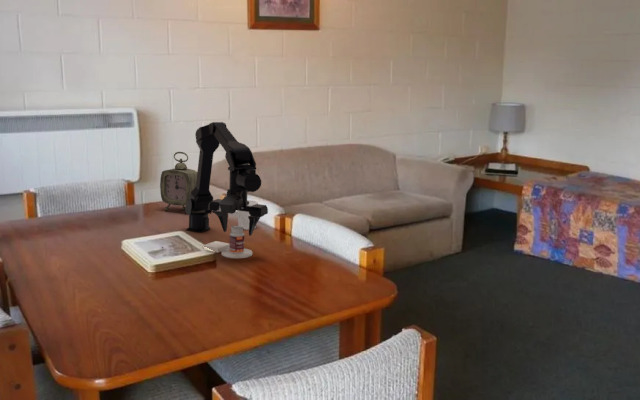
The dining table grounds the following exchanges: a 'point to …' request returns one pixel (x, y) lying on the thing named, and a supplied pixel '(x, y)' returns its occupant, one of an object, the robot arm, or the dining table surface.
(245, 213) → the white cup
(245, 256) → the coaster
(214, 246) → the tile
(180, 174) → the tabletop clock
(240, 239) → the pill bottle
